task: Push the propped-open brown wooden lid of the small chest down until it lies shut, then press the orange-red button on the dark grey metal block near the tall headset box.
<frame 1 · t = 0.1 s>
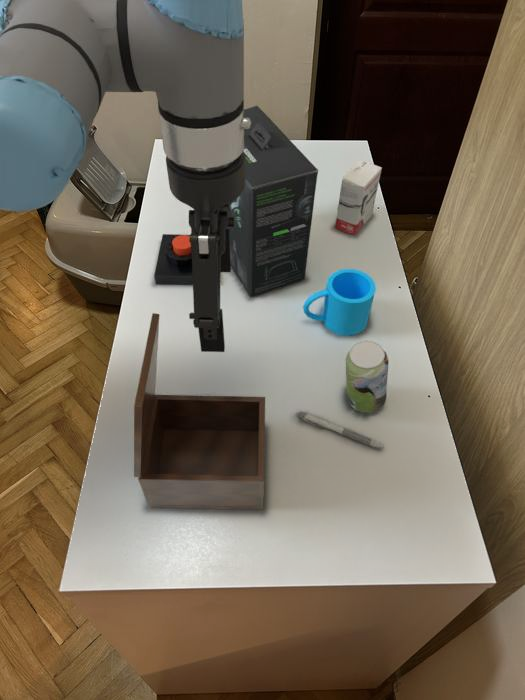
hand: (217, 307, 67), 21 cm above the table, tool pointing down, fingers open, 13 cm apart
start button: (183, 245, 100), point 4 cm above the table, slide at 0.1 cm
chest: (209, 466, 76), on the table
mug: (334, 320, 95), on the table
brown wooden lid: (146, 398, 63), point 17 cm above the table, hinge at 80.0°
button block: (185, 263, 103), on the table
pen: (338, 433, 80), on the table
ink box: (353, 222, 112), on the table
headset box: (253, 254, 105), on the table
beverage can: (360, 400, 84), on the table
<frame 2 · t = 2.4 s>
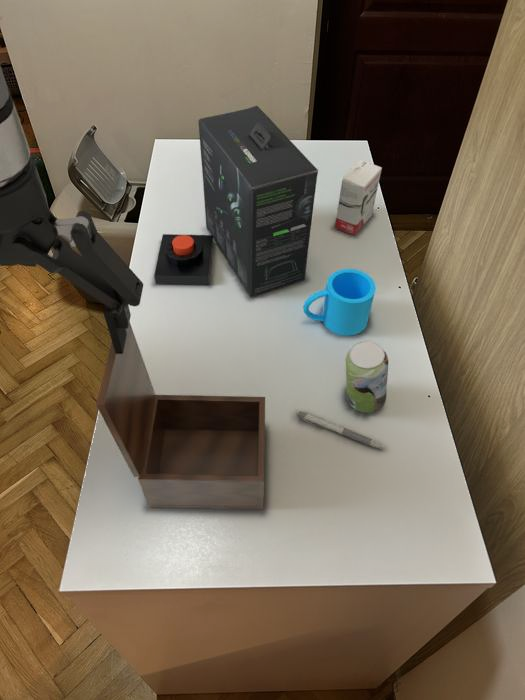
hand: (57, 343, 57), 26 cm above the table, tool pointing down, fingers open, 13 cm apart
brown wooden lid: (130, 397, 63), point 17 cm above the table, hinge at 93.3°
everything else where it was.
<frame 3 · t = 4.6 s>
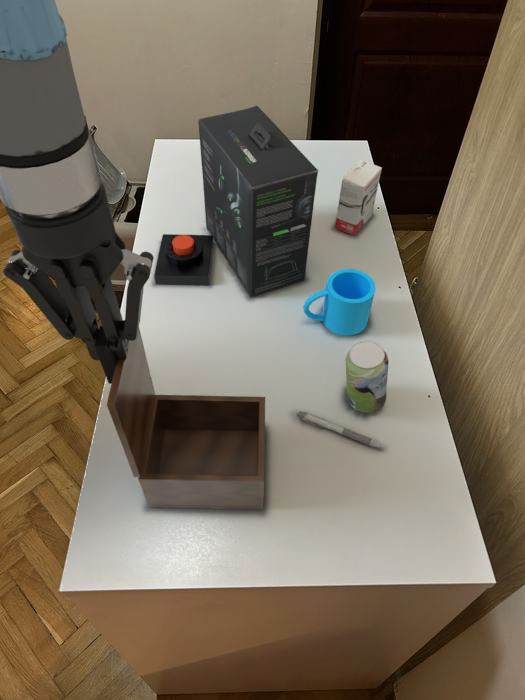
hand: (117, 373, 59), 22 cm above the table, tool pointing down, fingers closed
brown wooden lid: (134, 397, 63), point 17 cm above the table, hinge at 89.5°, touching gripper
everything else where it was.
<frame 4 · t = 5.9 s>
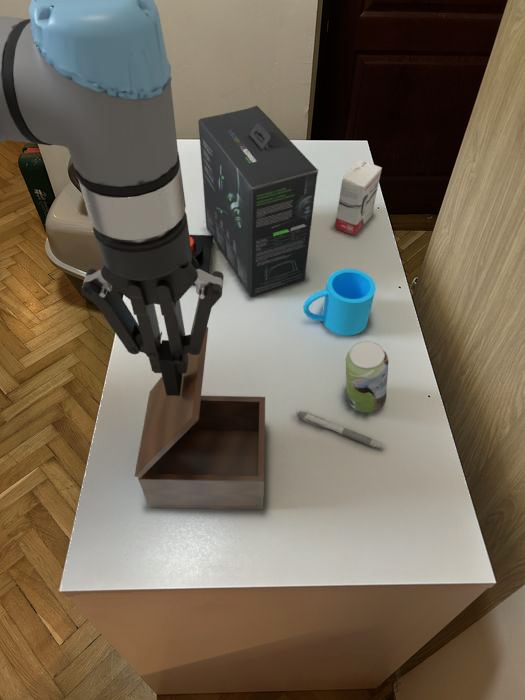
hand: (174, 385, 61), 20 cm above the table, tool pointing down, fingers closed
brown wooden lid: (170, 403, 64), point 16 cm above the table, hinge at 59.3°, touching gripper
everything else where it was.
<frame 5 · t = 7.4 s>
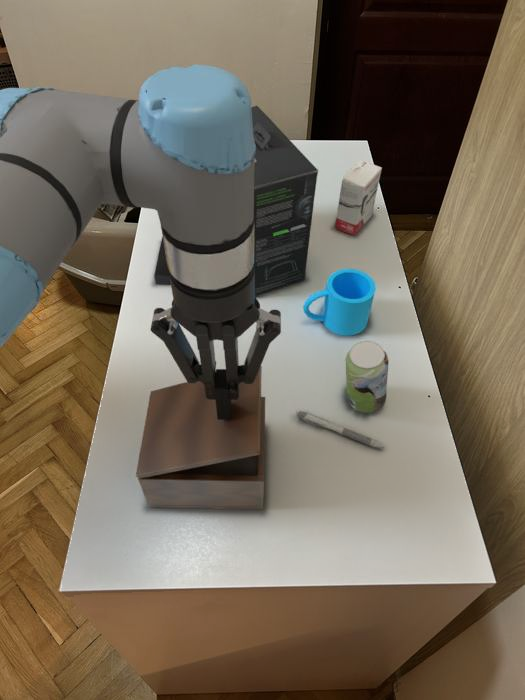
hand: (224, 410, 64), 15 cm above the table, tool pointing down, fingers closed
brown wooden lid: (200, 420, 66), point 13 cm above the table, hinge at 24.8°, touching gripper
everything else where it was.
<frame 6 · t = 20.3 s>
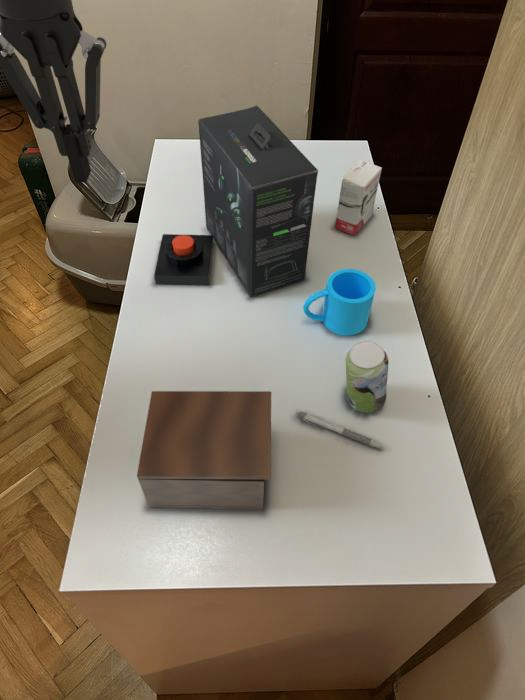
hand: (83, 176, 70), 29 cm above the table, tool pointing down, fingers closed
brown wooden lid: (207, 432, 69), point 10 cm above the table, hinge at 1.9°
everything else where it was.
at the end: brown wooden lid at +2° (first picture: +80°); start button pushed in 1.0 cm at the most during the clip, back to where it started at the end; start button slide at 0.1 cm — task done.
